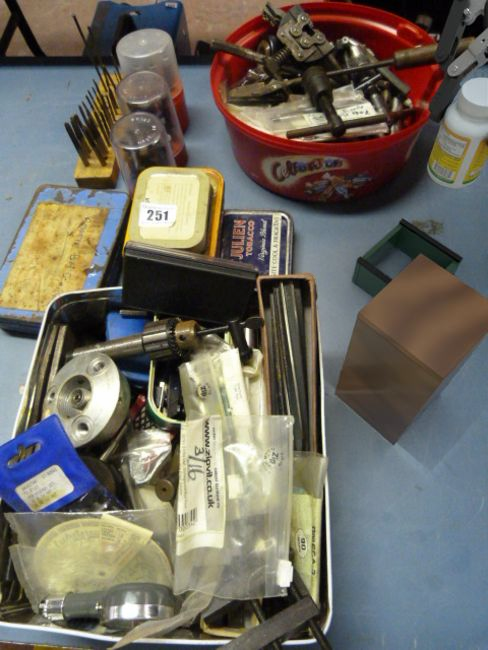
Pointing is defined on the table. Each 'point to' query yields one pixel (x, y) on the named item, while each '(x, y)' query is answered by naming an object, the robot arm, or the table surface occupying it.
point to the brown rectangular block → (410, 346)
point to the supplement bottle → (462, 138)
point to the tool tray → (411, 244)
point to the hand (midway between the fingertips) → (462, 133)
